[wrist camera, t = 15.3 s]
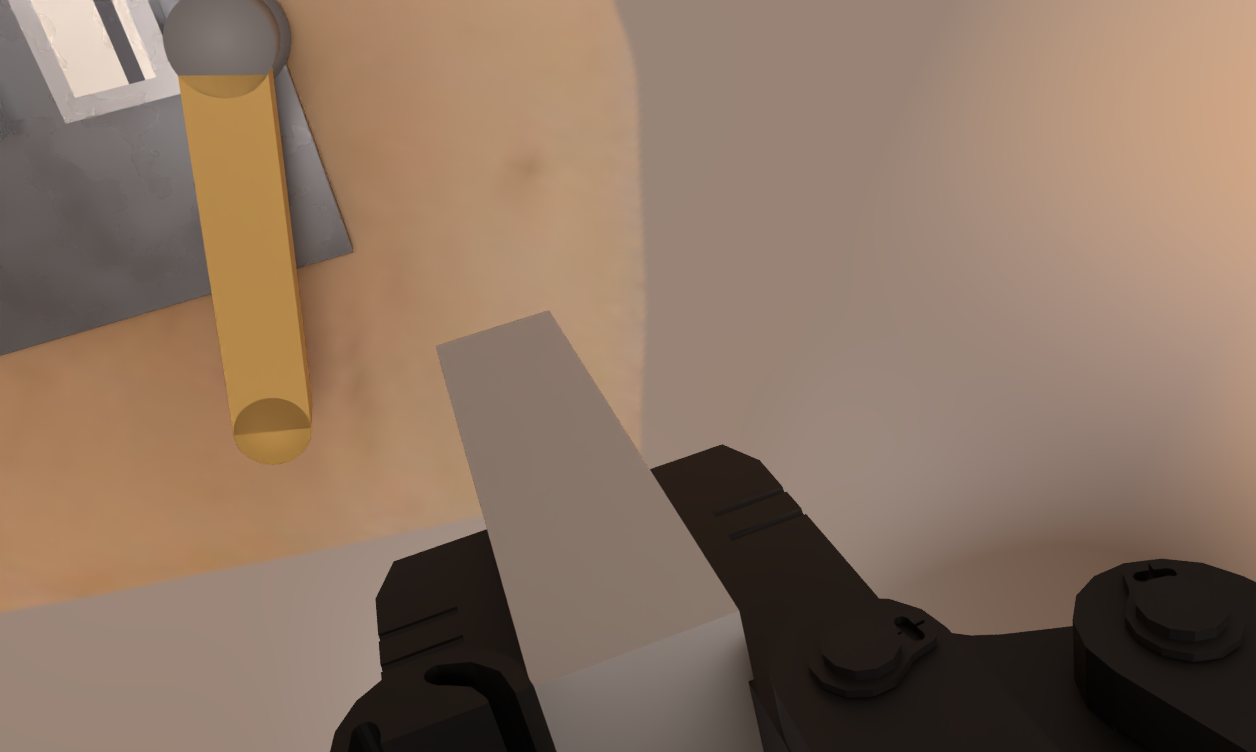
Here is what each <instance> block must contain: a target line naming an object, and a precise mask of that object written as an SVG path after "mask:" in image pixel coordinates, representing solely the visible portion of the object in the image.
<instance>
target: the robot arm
mask: <svg viewBox="0 0 1256 752" xmlns="http://www.w3.org/2000/svg"><path fill="white" fill-rule="evenodd" d="M436 349H437V353H438V357H439V360H440V364H441V367H442V371H443V374H444V378H445V381H446V385H447V389H448V392H449V396H450V399H451V403H452V406H453V410H454V413H455V417H456V421H457V424H458V428H459V431H460V435H461V438H462V442H463V445H464V449H465V453H466V456H467V460H468V463H469V467H470V470H471V474H472V477H473V481H474V485H475V488H476V492H477V495H478V499H479V502H480V506H481V509H482V513H483V517H484V520H485V524H486V527H487V530H484V531H481V532H478V533H475V534H472V535H469V536H466V537H463V538H460V539H458V540H455V541H452V542H449V543H446V544H443V545H440V546H437V547H435V548H431V549H429V550H426V551H423V552H420V553H417V554H414V555H411V556H408V557H405V558H403V559H400V560H397V561H394V562H393V564H392V566H391V568H390V570H389V572H388V574H387V576H386V578H385V581H384V583H383V585H382V587H381V589H380V591H379V593H378V595H377V597H376V610H377V624H378V635H379V638H380V641H379V651H380V664H381V667H382V671H383V672H381V677H382V680H381V681H380V682H379V683H378V684H376V685H375V686H374V687H373V688H371V689H370V690H369V691H368V692H367V693H365V695H363V696H362V697H361V698H359V699H358V700H357V701H356V702H355V704H354V705H353V707H352V708H351V710H350V711H349V712H348V714H347V715H346V717H345V718H344V720H343V721H342V722H341V724H340V726H339V727H338V729H337V730H336V731H335V734H334V738H333V742H332V746H331V751H330V752H1256V582H1254V581H1252V580H1250V579H1248V578H1246V577H1244V576H1241V575H1238V574H1235V573H1232V572H1229V571H1225V570H1222V569H1219V568H1216V567H1213V566H1210V565H1207V564H1204V563H1198V562H1188V561H1178V560H1169V559H1155V560H1148V561H1139V562H1131V563H1124V564H1121V565H1119V566H1117V567H1115V568H1112V569H1110V570H1108V571H1105V572H1103V573H1100V574H1098V575H1096V576H1094V577H1093V578H1092V579H1091V580H1090V582H1089V583H1088V584H1087V585H1086V586H1085V587H1084V588H1083V589H1082V590H1081V591H1080V592H1079V593H1078V594H1077V596H1076V601H1075V608H1074V614H1073V626H1070V627H1062V628H1053V629H1045V630H1036V631H1028V632H1019V633H1010V634H1002V635H975V636H970V635H962V634H954V633H951V632H950V631H949V630H948V628H946V627H945V626H944V625H943V624H941V623H940V622H938V621H937V620H935V619H934V618H933V617H932V616H930V615H929V614H927V613H926V612H925V611H923V610H922V609H919V608H916V607H913V606H910V605H907V604H903V603H900V602H897V601H894V600H890V599H879V598H878V597H877V596H876V594H875V593H874V592H873V591H872V590H871V589H870V588H869V586H868V585H867V584H866V583H865V582H864V581H863V579H861V577H860V576H859V575H858V574H857V572H856V571H855V570H854V569H853V568H852V567H851V565H850V564H849V563H848V562H847V561H846V560H845V559H844V557H843V556H842V555H841V554H840V553H839V552H838V551H837V549H836V548H835V547H834V546H833V545H832V544H831V542H830V541H829V540H828V539H827V538H826V537H825V535H824V534H823V533H822V532H821V531H820V530H819V529H818V527H817V526H816V525H815V524H814V523H813V522H812V520H811V519H810V518H809V517H808V516H807V515H806V514H805V515H804V514H803V513H802V510H801V508H800V507H799V505H798V504H797V503H796V502H795V501H794V500H793V498H792V497H791V496H790V495H789V494H788V493H787V492H784V490H783V487H782V486H781V484H780V483H779V482H778V481H777V480H776V479H775V478H774V476H773V475H772V474H771V473H770V472H769V471H768V470H767V468H766V467H765V466H764V465H763V464H762V463H761V461H760V460H758V459H755V458H753V457H751V456H748V455H746V454H743V453H741V452H739V451H736V450H734V449H732V448H729V447H727V446H725V445H719V446H716V447H713V448H710V449H708V450H705V451H702V452H699V453H696V454H693V455H690V456H688V457H685V458H682V459H678V460H676V461H673V462H670V463H667V464H664V465H661V466H658V467H655V468H653V469H649V467H648V466H647V464H646V463H645V461H644V460H643V458H642V456H641V455H640V453H639V452H638V450H637V449H636V447H635V445H634V444H633V442H632V441H631V439H630V437H629V436H628V434H627V433H626V431H625V430H624V428H623V426H622V425H621V423H620V422H619V420H618V419H617V417H616V415H615V414H614V412H613V411H612V409H611V407H610V406H609V404H608V403H607V401H606V400H605V398H604V396H603V395H602V393H601V392H600V390H599V388H598V387H597V385H596V384H595V382H594V381H593V379H592V377H591V376H590V374H589V373H588V371H587V370H586V368H585V366H584V365H583V363H582V362H581V360H580V358H579V357H578V355H577V354H576V352H575V351H574V349H573V347H572V346H571V344H570V343H569V341H568V340H567V338H566V336H565V335H564V333H563V332H562V330H561V328H560V327H559V325H558V324H557V322H556V321H555V319H554V317H553V316H552V314H551V313H550V311H549V310H548V311H545V312H542V313H539V314H536V315H532V316H529V317H526V318H523V319H520V320H517V321H513V322H510V323H507V324H504V325H501V326H497V327H494V328H491V329H488V330H485V331H481V332H478V333H475V334H472V335H469V336H465V337H462V338H459V339H456V340H453V341H449V342H446V343H443V344H440V345H437V346H436Z"/></svg>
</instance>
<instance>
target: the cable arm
mask: <svg viewBox="0 0 1256 752" xmlns="http://www.w3.org/2000/svg"><path fill="white" fill-rule="evenodd" d="M280 41H281V39H280V30H279V26H278V23H277V20H276V18H275V16H274V14H273V13H272V11H271V10H270V8H269V7H268V6H267V5H266V4H265V3H264V2H263V1H262V0H181V1H179V2H178V3H177V4H176V5H175V6H174V7H173V9H172V10H171V11H170V13H169V15H168V17H167V19H166V22H165V25H164V31H163V43H164V49H165V53H166V56H167V59H168V61H169V63H170V65H171V67H172V68H173V70H174V71H175V73H176V74H177V75H178V80H179V87H180V93H181V100H182V106H183V113H184V119H185V125H186V132H187V138H188V145H189V151H190V158H191V164H192V170H193V177H194V183H195V190H196V196H197V203H198V209H199V215H200V222H201V228H202V235H203V241H204V248H205V254H206V260H207V267H208V273H209V280H210V286H211V293H212V299H213V305H214V312H215V318H216V325H217V331H218V338H219V344H220V351H221V357H222V363H223V370H224V376H225V383H226V389H227V396H228V402H229V408H230V415H231V421H232V428H233V434H234V439H235V442H236V444H237V446H238V448H239V449H240V450H241V452H242V453H244V454H245V455H246V456H247V457H248V458H250V459H252V460H254V461H256V462H259V463H263V464H272V465H273V464H282V463H286V462H289V461H291V460H293V459H295V458H296V457H298V456H299V455H300V454H301V453H302V452H303V451H304V450H305V449H306V447H307V446H308V444H309V441H310V438H311V428H312V394H311V385H310V377H309V369H308V360H307V352H306V344H305V335H304V327H303V319H302V310H301V302H300V294H299V285H298V277H297V268H296V260H295V252H294V243H293V235H292V227H291V218H290V210H289V202H288V193H287V185H286V177H285V168H284V160H283V151H282V143H281V135H280V126H279V118H278V110H277V101H276V93H275V85H274V76H273V68H272V66H273V64H274V62H275V60H276V58H277V55H278V53H279V49H280Z"/></svg>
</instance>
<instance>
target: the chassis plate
mask: <svg viewBox="0 0 1256 752" xmlns="http://www.w3.org/2000/svg"><path fill="white" fill-rule="evenodd" d="M179 1H181V0H0V356H1V355H4V354H8V353H11V352H15V351H18V350H21V349H25V348H28V347H32V346H35V345H38V344H42V343H45V342H49V341H52V340H55V339H59V338H62V337H66V336H69V335H72V334H76V333H79V332H83V331H86V330H89V329H93V328H96V327H100V326H103V325H106V324H110V323H113V322H117V321H120V320H123V319H127V318H130V317H134V316H137V315H140V314H144V313H147V312H151V311H154V310H157V309H161V308H164V307H168V306H171V305H174V304H178V303H181V302H185V301H188V300H191V299H195V298H198V297H202V296H205V295H208V294H212V293H211V286H210V280H209V273H208V267H207V260H206V254H205V248H204V241H203V235H202V228H201V222H200V215H199V209H198V203H197V196H196V190H195V183H194V177H193V170H192V164H191V158H190V151H189V145H188V138H187V132H186V125H185V119H184V113H183V106H182V100H181V93H180V87H179V80H178V75H177V74H176V73H175V71H174V70H173V68H172V67H171V65H170V63H169V61H168V59H167V56H166V53H165V49H164V43H163V31H164V25H165V22H166V19H167V17H168V15H169V13H170V11H171V10H172V9H173V7H174V6H175V5H176V4H177V3H178V2H179ZM262 1H263V2H264V3H265V4H266V5H267V6H268V7H269V8H270V10H271V11H272V13H273V14H274V16H275V18H276V20H277V23H278V26H279V30H280V39H281V41H280V49H279V53H278V55H277V58H276V60H275V62H274V64H273V66H272V68H273V76H274V85H275V93H276V101H277V110H278V118H279V126H280V135H281V143H282V151H283V160H284V168H285V177H286V185H287V193H288V202H289V210H290V218H291V227H292V235H293V243H294V252H295V260H296V268H300V267H304V266H307V265H310V264H314V263H317V262H321V261H324V260H327V259H331V258H334V257H338V256H341V255H344V254H348V253H351V252H353V246H352V243H351V240H350V237H349V235H348V232H347V229H346V226H345V224H344V221H343V218H342V215H341V212H340V210H339V207H338V204H337V201H336V199H335V196H334V193H333V190H332V187H331V185H330V182H329V179H328V176H327V174H326V171H325V168H324V165H323V163H322V160H321V157H320V154H319V151H318V149H317V146H316V143H315V140H314V138H313V135H312V132H311V129H310V127H309V124H308V121H307V118H306V115H305V113H304V110H303V107H302V104H301V102H300V99H299V96H298V93H297V90H296V88H295V85H294V82H293V79H292V77H291V74H290V71H289V68H288V66H287V63H286V62H287V59H288V57H289V53H290V49H291V30H290V25H289V22H288V19H287V17H286V14H285V12H284V10H283V9H282V7H281V5H280V4H279V2H278V1H277V0H262Z"/></svg>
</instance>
